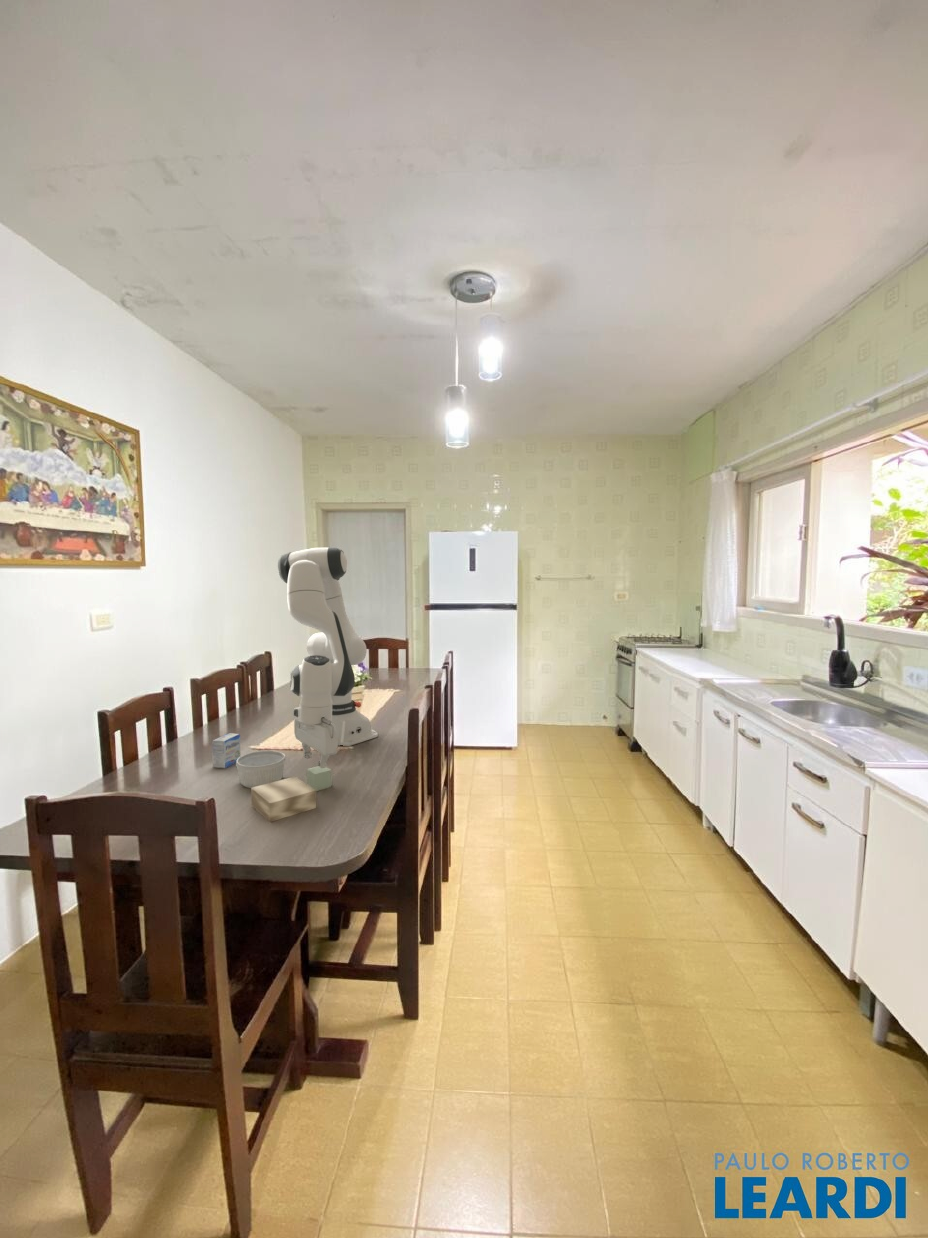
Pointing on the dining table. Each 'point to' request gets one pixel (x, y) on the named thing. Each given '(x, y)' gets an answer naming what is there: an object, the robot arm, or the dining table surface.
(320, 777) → the sage cube
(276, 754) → the ramekin
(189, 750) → the dining table surface
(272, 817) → the birch block
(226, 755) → the medicine box
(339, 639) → the robot arm
